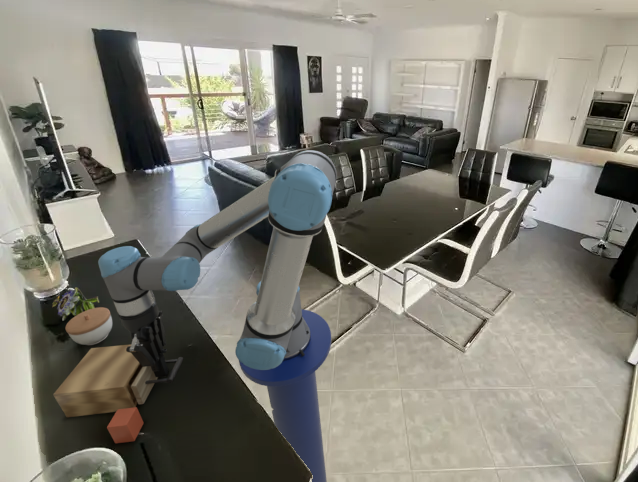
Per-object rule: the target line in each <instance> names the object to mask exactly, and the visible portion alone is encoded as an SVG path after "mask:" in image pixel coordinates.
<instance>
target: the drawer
mask: <svg viewBox="0 0 638 482" xmlns="http://www.w3.org/2000/svg"><path fill="white" fill-rule="evenodd" d="M183 361H184V357H182V356H179V357H178V358H175V359H165V362H166V364H173V367H172V369H171V371H170V373H169V374H168V377H167V378H159V377H155V374H154V372H153V371H152V369H151V366H147V367H142V365H141V364H140V365H139V366H138V368H137V370H136V371H135V373H134V374H133V376H132V378H131V379H130V381H129V383H128V384H127V389H128V391H129V393H130V395H131V397H132V400H133V402H134V401H135V399H137V402H138V403H137V405H143V404H145V403H146V401H147V399H148V397H149V395H150V393H151V392H152V390H153V387H154V385H155V384H159V383H161V384H162V383H167V384H173V382H174V380H175V378H176V376H177V374H178V372H179V371H180V368H181V366H182V363H183Z"/></svg>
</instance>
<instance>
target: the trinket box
mask: <svg viewBox="0 0 638 482" xmlns="http://www.w3.org/2000/svg"><path fill="white" fill-rule="evenodd" d="M75 315H76V314H75ZM112 329H113V317H112V314H111V311H110V310H109V308H107V307H102V306H100V307H95V308H93V309H89V310H87V311H85V310H83V312H82V313H80V314H78V315H76V316H74V317H72V318H71V319H70V320H69V321H68V322H67V323H66V325H65V331H66V333H67V334H68V336H69V337H70V339H71V340H72V341H73V342H75V343H77V344H78V345H83V346H84V345H85V346H94V345H97V344H99V343H101V342H103V341H104V340H105V339H107V338H108V337H109V334H110V332H111V331H112Z"/></svg>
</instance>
